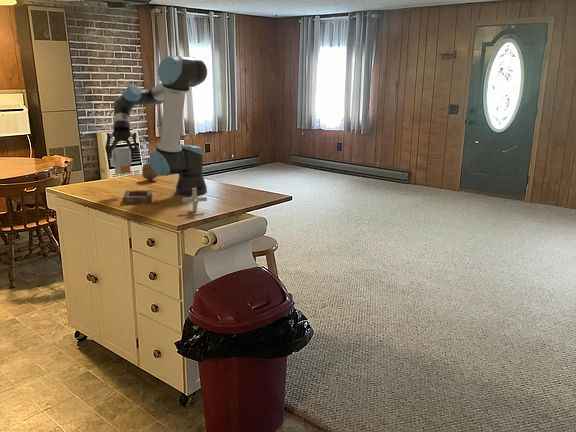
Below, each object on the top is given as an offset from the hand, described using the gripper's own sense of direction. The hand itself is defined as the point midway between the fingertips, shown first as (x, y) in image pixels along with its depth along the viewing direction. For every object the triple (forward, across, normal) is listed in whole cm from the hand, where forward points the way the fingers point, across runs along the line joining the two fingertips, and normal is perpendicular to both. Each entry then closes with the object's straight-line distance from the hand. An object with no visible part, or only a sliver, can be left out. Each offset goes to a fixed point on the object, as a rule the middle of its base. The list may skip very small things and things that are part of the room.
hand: (121, 163), depth 234 cm
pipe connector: (+35, -31, +11) cm, 48 cm away
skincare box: (+2, 0, -7) cm, 7 cm away
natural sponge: (-14, -12, -36) cm, 40 cm away
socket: (+18, -7, -5) cm, 19 cm away
